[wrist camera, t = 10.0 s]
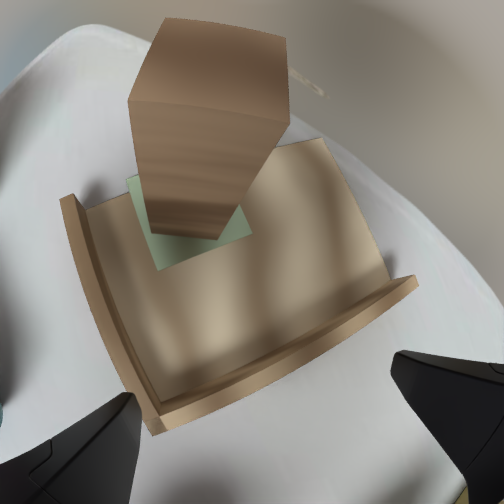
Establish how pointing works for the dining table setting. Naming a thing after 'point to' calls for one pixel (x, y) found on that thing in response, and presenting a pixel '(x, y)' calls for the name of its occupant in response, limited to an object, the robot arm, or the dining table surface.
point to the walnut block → (205, 121)
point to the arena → (231, 286)
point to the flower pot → (1, 414)
